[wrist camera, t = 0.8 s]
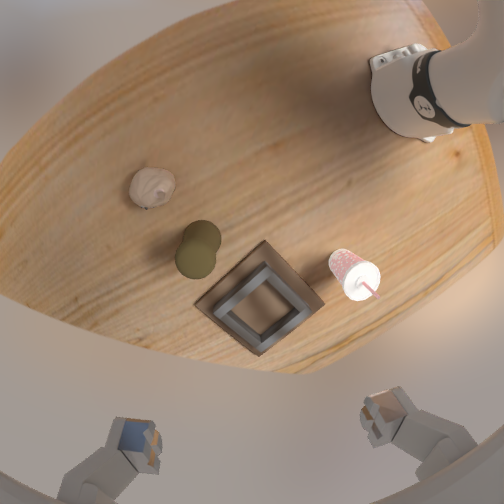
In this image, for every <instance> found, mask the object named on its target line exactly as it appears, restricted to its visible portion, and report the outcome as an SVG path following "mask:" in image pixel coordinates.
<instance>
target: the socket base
mask: <svg viewBox="0 0 504 504" xmlns="http://www.w3.org/2000/svg"><path fill="white" fill-rule="evenodd" d="M324 305H325V303H324V302H323V301H322V300H321V299H320V297H319V296H318V295H317V294H316V293H315V292H314V291H313V290H312V289H311V288H310V287H309V286H308V285H307V284H306V282H305V281H304V280H303V279H302V278H301V277H300V276H299V275H298V274H297V273H296V272H295V271H294V270H293V269H292V268H291V267H290V265H289V264H288V263H287V262H286V261H285V260H284V259H283V258H282V257H281V256H280V255H279V254H278V253H277V252H276V251H275V250H274V249H273V248H272V247H271V245H270V244H269V243H268V242H267V241H266V240H264V241H263V242H262V243H261V244H260V245H259V246H258V247H257V248H256V249H255V250H253V251H252V252H251V253H250V254H249V255H248V256H247V257H246V258H245V259H243V260H242V261H241V262H240V263H239V264H238V265H237V266H236V267H235V268H234V269H232V270H231V271H230V272H229V273H228V274H227V275H226V276H225V277H224V278H223V279H221V280H220V281H219V282H218V283H217V284H216V285H215V286H214V287H213V288H212V289H210V290H209V291H208V292H207V293H206V294H205V295H204V296H203V297H202V298H201V299H199V300H198V301H197V302H196V304H195V306H196V307H197V308H199V309H200V310H201V311H202V312H203V313H205V314H206V315H207V316H208V317H209V318H210V319H212V320H213V321H214V322H215V323H217V324H218V325H219V326H220V327H221V328H223V329H224V330H225V331H226V332H228V333H229V334H230V335H231V336H233V337H234V338H235V339H236V340H238V341H239V342H240V343H241V344H243V345H244V346H245V347H247V348H248V349H249V350H250V351H252V352H253V353H254V354H256V355H257V356H258V357H259V356H261V355H262V354H263V353H265V352H266V351H267V350H269V349H270V348H271V347H273V346H274V345H275V344H277V343H278V342H279V341H281V340H282V339H283V338H284V337H286V336H287V335H288V334H289V333H291V332H292V331H293V330H295V329H296V328H297V327H298V326H300V325H301V324H302V323H303V322H304V321H306V320H307V319H308V318H309V317H311V316H312V315H313V314H314V313H315V312H317V311H318V310H319V309H320V308H321V307H323V306H324Z"/></svg>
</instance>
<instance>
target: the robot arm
mask: <svg viewBox="0 0 504 504" xmlns="http://www.w3.org/2000/svg"><path fill="white" fill-rule="evenodd" d="M477 2H478V9H479V17H478V23H477V27H476V29H475V31H474V32H473V34H472V35H471V36H470V37H469V38H468V39H467V40H465V41H463V42H461V43H459V44H457V45H455V46H453V47H451V48H448V49H446V50H443V51H441V50H437V49H435V48H431V49H426V48H425V47H424V46H422V45H421V44H413V45H410V46H407V47H404V48H400V49H397V50H393V51H390V52H387V53H384V54H381V55H378V56H375V57H372V58H371V59H370V66H371V70H372V82H371V95H372V100H373V103H374V106H375V108H376V110H377V112H378V114H379V116H380V117H381V119H382V120H383V122H384V123H385V124H386V125H387V126H388V127H389V128H390V129H391V130H393V131H394V132H396V133H397V134H399V135H401V136H404V137H410V138H419V139H421V140H422V141H424V142H426V143H430V142H433V141H434V139H435V137H436V136H441V135H447V134H451V133H452V132H453V130H454V128H463V127H467V126H470V125H471V124H500V123H503V122H504V0H477ZM380 60H381V61H382V62H381V61H380ZM364 404H365V406H364V407H363V408H362V409H361V412H360V421H361V424H362V427H363V429H364V430H366V431H368V432H369V434H368V439H369V441H370V443H371V445H372V446H373V448H376V447H379V446H382V445H385V444H387V443H390V442H392V444H394V445H395V446H397V447H398V448H400V449H402V450H403V451H405V452H406V453H408V454H410V455H411V456H413V457H415V458H416V459H418V460H420V461H422V462H423V463H422V464H421V465H420V466H419V467H418V468H417V470H416V472H415V474H416V475H417V477H418V479H419V481H420V482H418V483H416V484H414V485H412V486H410V487H408V488H406V489H404V490H402V491H399V492H397V493H395V494H393V495H390V496H388V497H386V498H383V499H381V500H378V501H376V502H373V503H370V504H504V425H502V426H501V427H500V428H499V429H498V430H497V431H495V432H494V433H493V434H492V435H491V436H489V437H488V438H487V439H485V440H484V441H483V442H482V443H480V444H479V445H478V444H477V443H476V442H475V441H474V439H473V438H472V436H471V435H470V434H469V432H468V431H467V430H466V429H465V428H464V426H462V425H459V424H456V423H454V422H451V421H449V420H446V419H443V418H441V417H438V416H436V415H433V414H431V413H428V412H426V411H423V410H420V411H419V410H418V409H417V408H416V406H415V405H414V404H413V402H412V401H411V400H410V398H409V397H408V395H407V394H406V393H405V391H404V390H403V389H402V388H401V387H400V386H397V387H394V388H391V389H389V390H385V391H381V392H378V393H376V394H372V395H369V396H367V397H366V398H365V400H364ZM161 453H162V439H161V435H160V433H159V432H158V431H157V430H155V423H154V422H153V421H151V420H140V419H131V418H123V417H116V418H115V419H114V420H113V423H112V426H111V429H110V432H109V435H108V438H107V442H106V445H105V448H104V447H101V448H99V449H98V450H97V451H96V452H94V453H93V454H92V455H90V456H89V457H88V458H86V459H85V460H84V461H83V462H81V463H80V464H78V465H77V466H76V467H75V468H73V469H72V470H70V471H69V472H68V473H66V474H65V475H64V477H63V480H62V483H61V487H60V489H59V492H58V496H57V499H54V498H52V497H50V496H47V495H45V494H43V493H41V492H38V491H37V490H35V489H32V488H30V487H28V486H27V485H25V484H23V483H21V482H19V481H17V480H15V479H14V478H12V477H10V476H8V475H7V474H5V473H3V472H2V471H0V504H118V503H116V502H115V501H114V500H115V499H116V498H117V497H118V496H119V495H120V494H121V492H122V491H123V490H124V489H125V488H126V487H127V486H128V485H129V484H130V483H131V482H132V481H133V479H134V478H135V477H136V476H137V475H138V474H139V473H147V474H159V468H160V460H159V459H158V457H157V456H158V455H160V454H161Z"/></svg>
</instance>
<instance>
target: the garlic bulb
mask: <svg viewBox="0 0 504 504" xmlns="http://www.w3.org/2000/svg"><path fill="white" fill-rule="evenodd" d="M175 188H176V184H175V178H174V175H173V174H172V173H171V172H169V171H168V170H166V169H160V168H156V167H145V168H143V169H141V170H139V171H138V172H137V173H136V174H135V176H134V177H133V180H132V182H131V184H130V189H129V195H130V198H131V199H132V201H133V202H134V203H135V204H137V205H139V206H140V207H141V208H145V209H146V210H147V209H148V208H154V207H157V206H162V205H164V204H166V203H167V202H168V201H169V200H170V198H171V196H172V194H173V192H174V190H175Z"/></svg>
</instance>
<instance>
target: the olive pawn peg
mask: <svg viewBox="0 0 504 504" xmlns="http://www.w3.org/2000/svg"><path fill="white" fill-rule="evenodd" d="M220 244H221V234H220V231H219V229H218V228H217V227H216V226H215V225H214V224H213V223H211V222H209V221H205V220H198V221H195V222H193V223H191V224H190V225H189V226H188V227H187V229H186V230H185V233H184V236H183V243H181V244H180V246H179V247H178V249H177V251H176V254H175V263H176V266H177V268H178V270H179V271H180V273H181V274H182V275H184V276H186V277H187V278H190V279H201V278H204V277H206V276H207V275H209V274H210V273H211V272H212V270H213V269H214V267H215V264H216V252H217V250H218V249H219V247H220Z"/></svg>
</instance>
